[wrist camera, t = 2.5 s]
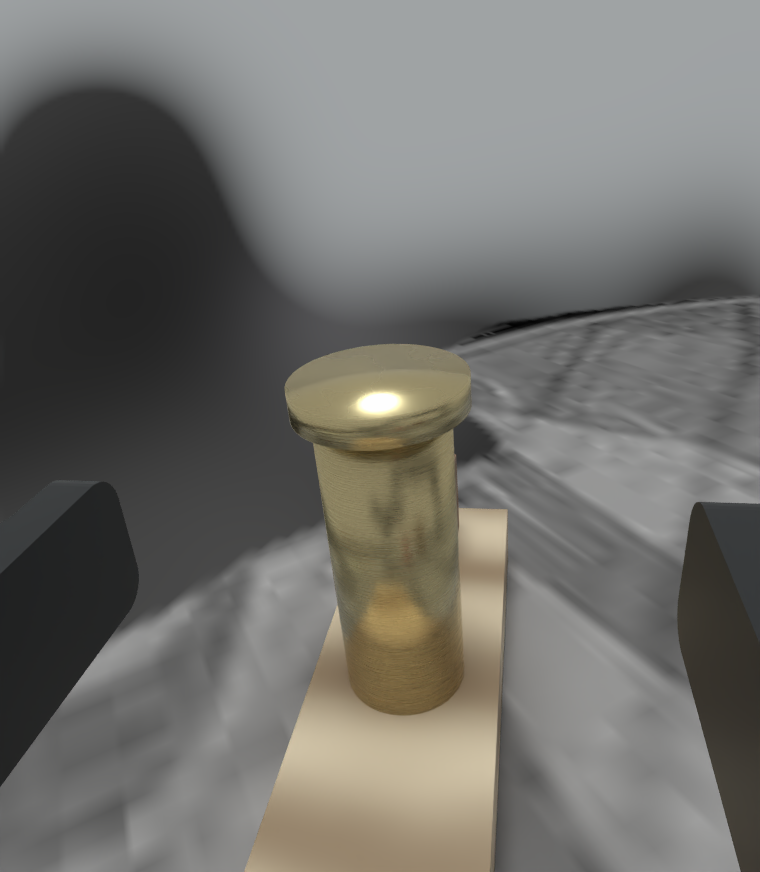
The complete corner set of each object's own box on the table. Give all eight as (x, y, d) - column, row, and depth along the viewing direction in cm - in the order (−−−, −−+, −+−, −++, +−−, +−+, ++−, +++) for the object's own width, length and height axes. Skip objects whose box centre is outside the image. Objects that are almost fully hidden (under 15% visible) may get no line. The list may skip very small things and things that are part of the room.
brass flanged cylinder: (407, 598, 30) (382, 333, 25) (511, 664, 26) (509, 368, 21) (303, 671, 27) (248, 385, 22) (404, 758, 23) (369, 437, 18)
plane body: (377, 551, 38) (364, 438, 35) (507, 557, 37) (507, 439, 34) (227, 1040, 19) (169, 890, 16) (484, 1090, 18) (477, 937, 15)
